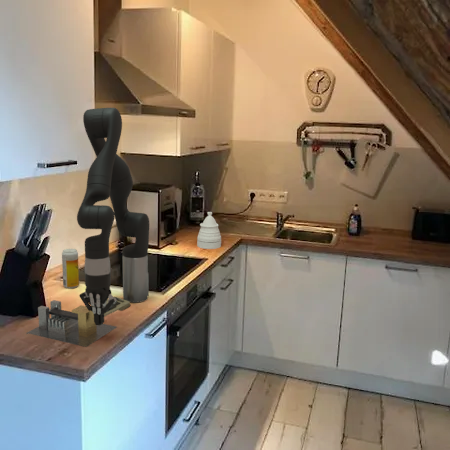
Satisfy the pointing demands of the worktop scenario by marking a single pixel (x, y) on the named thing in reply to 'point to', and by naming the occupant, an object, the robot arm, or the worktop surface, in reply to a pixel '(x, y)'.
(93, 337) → the heatsink base
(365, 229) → the worktop surface
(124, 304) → the computer
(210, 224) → the honey pot
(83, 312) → the gold block
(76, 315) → the strap
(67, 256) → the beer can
